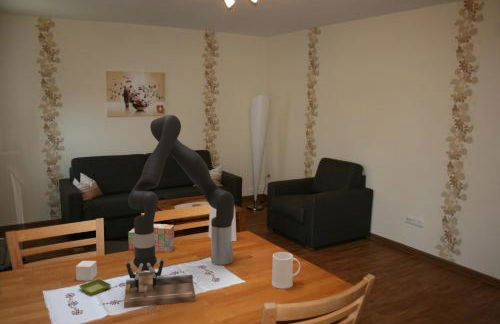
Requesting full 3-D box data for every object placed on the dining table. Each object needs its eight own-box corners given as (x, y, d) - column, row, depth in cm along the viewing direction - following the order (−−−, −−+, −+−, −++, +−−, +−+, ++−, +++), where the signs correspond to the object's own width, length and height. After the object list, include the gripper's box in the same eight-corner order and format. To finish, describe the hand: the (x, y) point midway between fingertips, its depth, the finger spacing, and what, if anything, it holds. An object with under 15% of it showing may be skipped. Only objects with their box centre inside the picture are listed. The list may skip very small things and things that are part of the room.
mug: (297, 278, 165) (298, 251, 164) (303, 287, 157) (304, 258, 155) (269, 280, 164) (270, 252, 162) (273, 289, 155) (274, 260, 154)
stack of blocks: (128, 250, 195) (127, 226, 193) (133, 246, 201) (132, 222, 200) (170, 252, 193) (170, 228, 191) (174, 248, 199) (174, 224, 197)
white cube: (83, 274, 167) (82, 260, 167) (97, 274, 167) (96, 261, 166) (76, 280, 161) (75, 266, 161) (91, 280, 161) (90, 266, 160)
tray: (192, 285, 158) (192, 274, 157) (195, 300, 146) (195, 289, 145) (126, 291, 153) (126, 279, 152) (123, 307, 140) (123, 295, 139)
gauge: (153, 286, 152) (152, 271, 152) (152, 297, 144) (152, 281, 143) (139, 287, 151) (139, 272, 151) (138, 298, 143) (137, 282, 142)
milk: (208, 237, 216) (208, 190, 212) (228, 234, 220) (228, 188, 217) (215, 244, 205) (215, 194, 201) (236, 241, 209) (236, 193, 206)
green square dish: (99, 283, 160) (99, 278, 160) (111, 289, 155) (111, 284, 154) (78, 290, 153) (78, 285, 153) (90, 297, 148) (90, 292, 148)
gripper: (164, 239, 153) (165, 281, 155) (125, 241, 149) (126, 284, 152) (164, 245, 145) (165, 289, 148) (123, 248, 142) (125, 293, 145)
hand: (145, 286), depth 150 cm, fingers closed on gauge, 5 cm apart
